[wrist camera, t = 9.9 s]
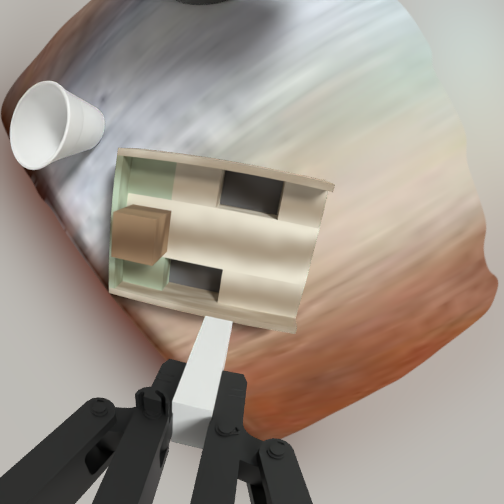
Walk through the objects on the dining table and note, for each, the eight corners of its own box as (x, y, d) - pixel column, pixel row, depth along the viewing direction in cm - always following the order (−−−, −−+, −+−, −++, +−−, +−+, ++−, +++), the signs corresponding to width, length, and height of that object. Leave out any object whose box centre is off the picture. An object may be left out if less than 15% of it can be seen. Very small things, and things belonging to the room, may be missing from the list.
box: (138, 148, 35) (118, 147, 30) (325, 180, 35) (334, 184, 30) (126, 276, 40) (109, 292, 35) (292, 311, 40) (295, 333, 35)
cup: (76, 177, 36) (24, 187, 26) (53, 120, 34) (2, 117, 23) (129, 138, 34) (82, 135, 24) (103, 79, 32) (55, 62, 22)
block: (132, 204, 34) (113, 211, 29) (171, 210, 34) (156, 219, 29) (129, 244, 35) (111, 256, 31) (167, 251, 35) (152, 266, 31)
